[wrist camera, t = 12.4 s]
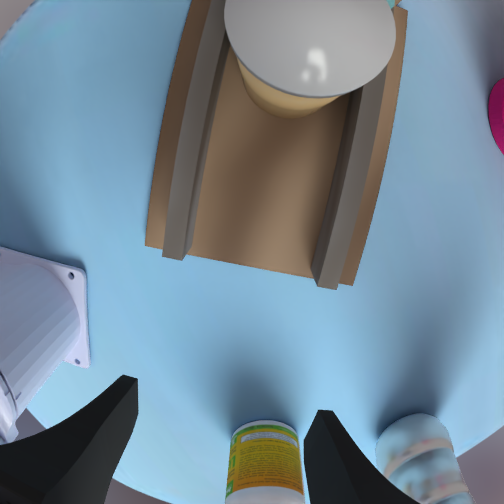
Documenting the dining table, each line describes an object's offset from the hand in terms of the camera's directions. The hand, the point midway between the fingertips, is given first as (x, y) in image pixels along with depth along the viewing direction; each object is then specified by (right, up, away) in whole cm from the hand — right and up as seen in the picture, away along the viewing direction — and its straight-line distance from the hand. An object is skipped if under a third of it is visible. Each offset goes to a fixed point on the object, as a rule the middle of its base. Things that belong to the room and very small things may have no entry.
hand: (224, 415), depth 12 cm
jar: (+3, +15, +3) cm, 16 cm away
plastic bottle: (+14, -9, +11) cm, 20 cm away
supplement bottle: (+2, -9, +12) cm, 15 cm away
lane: (+3, +14, +4) cm, 15 cm away
